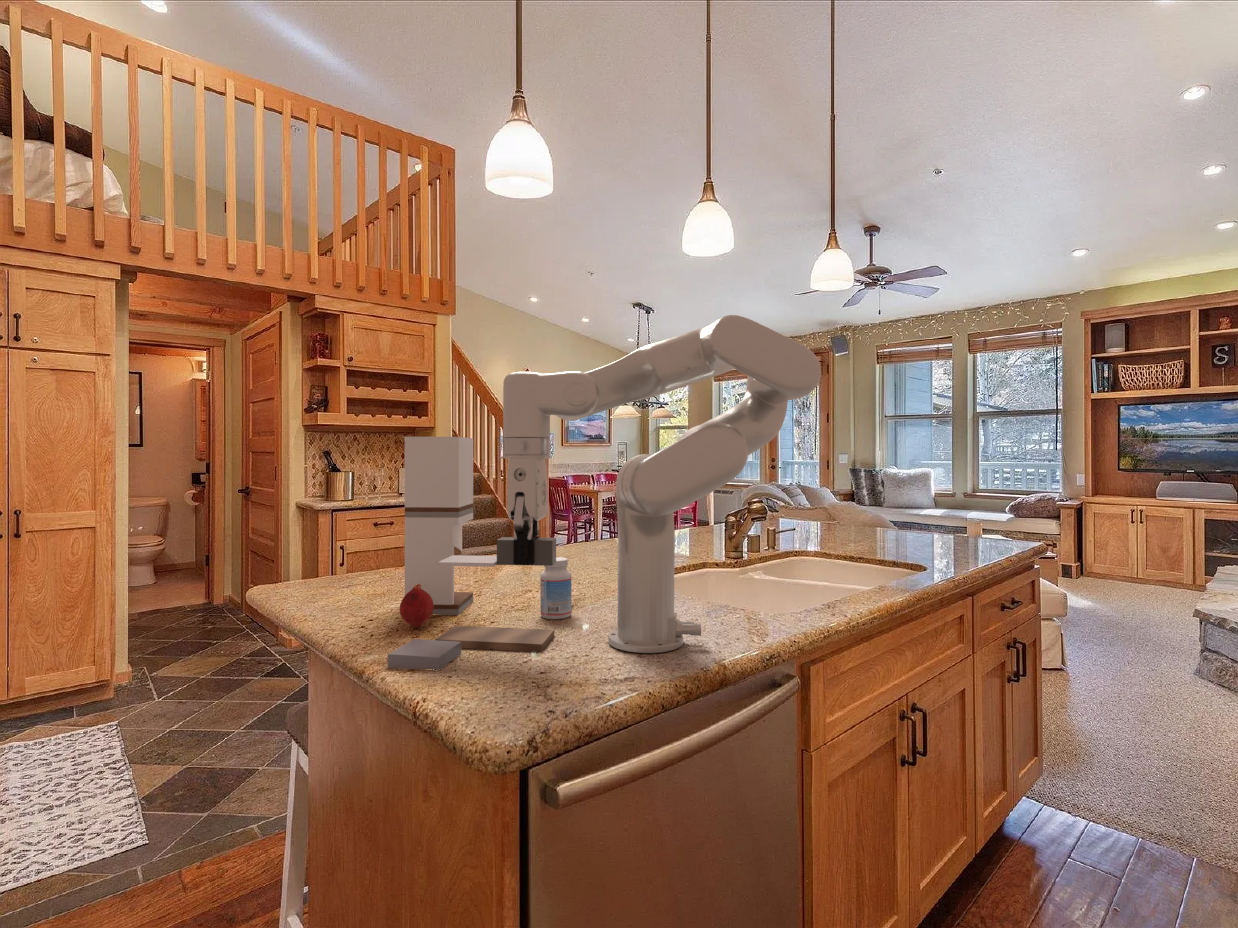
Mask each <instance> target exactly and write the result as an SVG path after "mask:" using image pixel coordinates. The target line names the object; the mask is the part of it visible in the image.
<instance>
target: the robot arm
mask: <svg viewBox="0 0 1238 928" xmlns="http://www.w3.org/2000/svg"><path fill="white" fill-rule="evenodd" d="M733 370H736V371H738V373H742V374H743V375H745V376H746V377H747V380H746V387H745V388H746V389H745V393H744V396H743V398H742V399H741V401H740V402H739V403H737V404H736V405H734V406H733V407H730V408H729V409H727V410H726V411H724V412H722V413H721V414H719V415H717V416H715V417H713V418H711V419H709V420H707V421H705V422H703V423H701V424H697V425H696V426H693V427H691V428H689V429H688V430H686V431H685V432H684V433H683V434H682V435H681V436H680V437H679V438H678V439H677V441H675V442H674V443H672V444H670V445H667V446H666V447H664V448H662V449H660V450H658V451H656V452H654V453H643V454H638V455H635V456H632V457H631V458H629V459H627V460H626V461H625V462H624V463H623V465H622V466H621V468H620V469H619V471H618V474H617V476H616V477H617V478H616V480H615V481H616V482H615V499H616V501H615V502H616V511H617V512H616V514H617V515H616V516H617V629H614V630H612V631H611V632H610V633H609V634H608V637H607V640H608V641H607V642H608V644H609V645H610V646H611V647H613V648H615V649H617V650H621V651H625V652H629V653H635V654H636V653H637V654H659V653H666V652H671V651H674V650H677V649H679V648H681V647H682V646H683V644H684V635H688V636H694V637H695V636H699V637H701V636H702V623H695V621H693V620H692V621H690V620H687V621H684V620H682V621H681V619H679V618H677V617H678V615H677V614H678V612H675V563H676V562H675V556H676V555H675V551H676V550H675V549H676V548H675V547H676V546H675V545H676V535H675V534H676V533H675V532H676V531H675V517H674V513H676V512H677V511H679V510H682V509H683V508H685V507H686V508H687V506H689V505H692V504H693V503H694V502H697V501H698V500H700V499H702V498H703V497H706V496H707V495H709V494H711V493H713V492H715V491H716V490H718V489H720V488H722V487H724V486H725V485H727V484H729V483H731V482H732V481H734V479H735V478H737V476H738V475H740V473H741V472H742V471H743V470H744V468H745V466H746V463H747V459H748V456H750V455H751V454H753V453H754V452H757V451H758V450H760V449H761V448H763V447H764V446H766V445H767V444H769V443H770V442H771V441H772V440H773V439H775V438H776V436H777V435H778V434H779V433H780V431H781V429H782V426H783V424H784V421H785V418H786V415H787V411H788V403H789V401H793V400H797V399H801V398H805V397H806V396H808V395H809V394H811V393H812V392H813V391H814V390H816V388H817V387H818V385H819V383H820V380H821V377H822V366H821V363H820V360H819V359H818V357H817V355H816V354H815V353H814V352H813V351H812V350H811V349H810V348H808V347H807V346H806V345H804V344H802V343H800V342H798V341H795V340H794V339H792V338H790V337H788V336H785V335H783V334H781V333H780V332H778V331H776V330H773V329H771V328H769V327H768V326H765V325H764V324H761V323H759V322H757V321H754V320H753V319H750V318H747V317H745V316H743V315H742V316H741V315H738V314H737V315H736V314H729V315H728V314H727V315H725V316H722V317H720V318H718V319H716V320H715V321H714V322H712V323H710V324H709V325H706V326H703V327H700V328H696V329H694V330H691V331H687V332H686V333H683V334H678V335H676V336H673V337H670V338H666V339H663V340H660V341H657V342H652V343H649V344H647V345H644V346H642V347H640V348H637V349H636V350H633V351H632V352H631V353H628V354H627V355H625V356H623V357H622V358H620V359H618V360H616V361H614V362H611V363H609V364H607V365H603V366H600V367H598V368H595V369H593V370H589V371H586V372H583V371H576V370H570V371H562V372H561V371H560V372H554V373H553V372H552V373H551V372H550V373H540V372H534V371H533V372H532V371H517V372H511V373H508V374H507V375H505V377H504V378H503V386H502V388H503V389H502V399H503V400H502V401H503V402H502V403H503V404H502V406H503V407H502V411H503V412H502V414H503V415H502V418H503V419H502V421H503V422H502V425H503V426H502V431H503V432H502V441H503V442H502V451H503V452H502V454H503V455H502V457H503V458H502V459H508V469H507V496H506V497H507V498H506V499H507V504H506V506H507V517H508V518H509V520H510V521H513V537H514V565H513V566H534V565H533V564H534V540H532V537H534V538H540V535H539V534H540V522H539V521H540V520H542V519H545V518H546V516H548V515H549V498H548V497H549V496H548V495H549V494H548V491H549V490H548V472H547V463H546V459H550V458H551V416H557V417H558V418H560V419H561V420H565V421H569V422H570V421H571V422H573V421H574V422H575V421H578V420H581V419H584V418H587V417H590V416H592V415H596V414H600V413H602V412H604V411H607V410H612V409H614V408H617V407H620V406H623V405H626V404H629V403H632V402H633V403H634V402H638V401H642V400H648V399H651V398H655V397H658V396H661V395H663V394H666V393H669V392H673V391H675V390H678V389H680V388H683V387H684V388H685V387H686V386H689V385H693V384H697V383H698V382H702V381H706V380H708V379H711V378H715V377H718V376H721V375H723V374H726V373H728V372H730V371H733Z"/></svg>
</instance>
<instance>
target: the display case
mask: <svg viewBox="0 0 1238 928" xmlns="http://www.w3.org/2000/svg"><path fill="white" fill-rule="evenodd" d="M472 520H474V438H473V437H465V436H464V437H463V436H404V596H405V595H406V594H407V593H408V592H409V591H411V590H412V589H413V587H414V586H415V584H418V583H419V584H420V585H421V589H422V590H424V591H426V592H427V593H428V594H429V595H430V596H431V598H432V600H433V604H434V608H433V612H432V614H436V615H435V616H459V615H461V614H462V613H463V612H462V611H463V610H464V609H465V608H466V607H467V606H468V605H469V604H470V603H471V604H473V602H474V591H464V592H463V591H455V566H438V562H439V561H442V560H444V559H446V558H448V557H450V556H452V555H463V524H464V523H467V522H469V521H472ZM471 604H470V605H471ZM470 605H469V606H470ZM469 606H468V607H469ZM468 607H467V608H468ZM467 608H466V609H467ZM466 609H465V610H466ZM465 610H464V611H465ZM437 614H438V615H437ZM439 614H440V615H439ZM441 614H442V615H441Z"/></svg>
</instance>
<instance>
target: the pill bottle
mask: <svg viewBox="0 0 1238 928" xmlns="http://www.w3.org/2000/svg"><path fill="white" fill-rule="evenodd" d="M568 560H569V559H568V558H566V557H563V556H562V557H561V556H559V557H557V556H556V563H555V564H554V565H553V566H543V568H544V570H542V571H541V573H540V579H539V581H540V582H539V583H540V585H539V586H540V587H539V588H540V590H539V591H540V592H539V593H540V604H539V605H540V616H541V618H543V619H546V620H563V619H567V618H569V617H571V616H572V612H573V611H572V609H573V608H572V605H573V603H572V597H573V595H572V573H571V572H570V570H568V569H567V567H568V565H569V563H568V562H569V561H568Z"/></svg>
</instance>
